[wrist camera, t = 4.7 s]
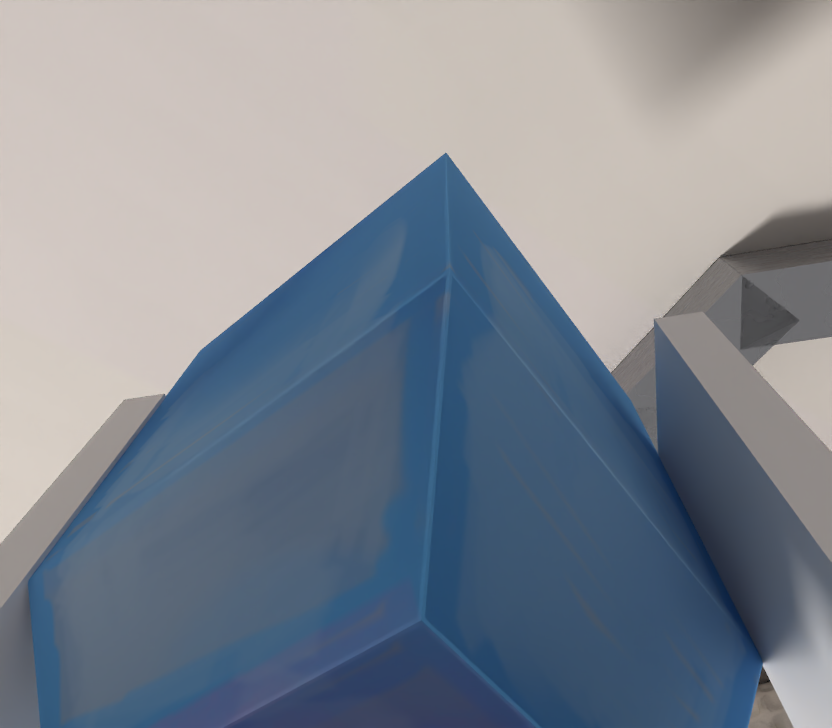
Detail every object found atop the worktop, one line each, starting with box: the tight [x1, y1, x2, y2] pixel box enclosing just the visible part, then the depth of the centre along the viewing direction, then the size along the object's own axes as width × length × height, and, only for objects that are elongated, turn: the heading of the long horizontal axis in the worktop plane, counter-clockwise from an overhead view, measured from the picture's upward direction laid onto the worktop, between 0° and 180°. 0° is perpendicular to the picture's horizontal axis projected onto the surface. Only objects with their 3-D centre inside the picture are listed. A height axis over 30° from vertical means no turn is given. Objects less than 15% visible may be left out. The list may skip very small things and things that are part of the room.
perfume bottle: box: [28, 153, 763, 728], centre depth 8 cm, size 6×6×12 cm
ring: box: [611, 239, 832, 453], centre depth 25 cm, size 16×16×3 cm
